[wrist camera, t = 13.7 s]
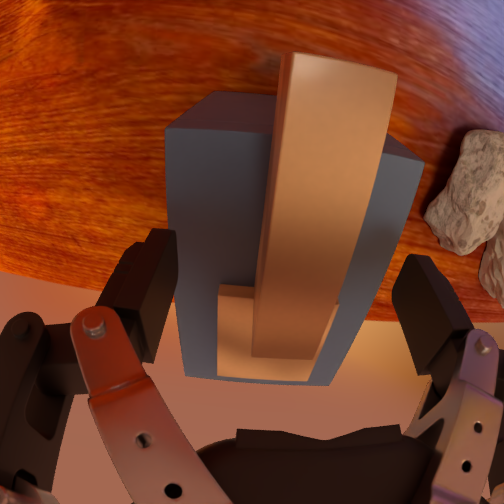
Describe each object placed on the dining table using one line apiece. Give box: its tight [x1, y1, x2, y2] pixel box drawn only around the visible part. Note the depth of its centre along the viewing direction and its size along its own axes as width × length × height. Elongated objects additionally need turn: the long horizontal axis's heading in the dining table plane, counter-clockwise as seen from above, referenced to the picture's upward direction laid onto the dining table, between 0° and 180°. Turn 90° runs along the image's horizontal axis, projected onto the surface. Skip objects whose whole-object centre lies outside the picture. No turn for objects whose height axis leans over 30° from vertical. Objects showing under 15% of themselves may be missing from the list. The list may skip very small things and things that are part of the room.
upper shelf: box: [165, 91, 425, 386], centre depth 20 cm, size 10×16×12 cm, turn 175°
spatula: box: [217, 51, 398, 381], centre depth 12 cm, size 17×6×4 cm, turn 175°
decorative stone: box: [424, 129, 504, 255], centre depth 21 cm, size 12×11×5 cm
